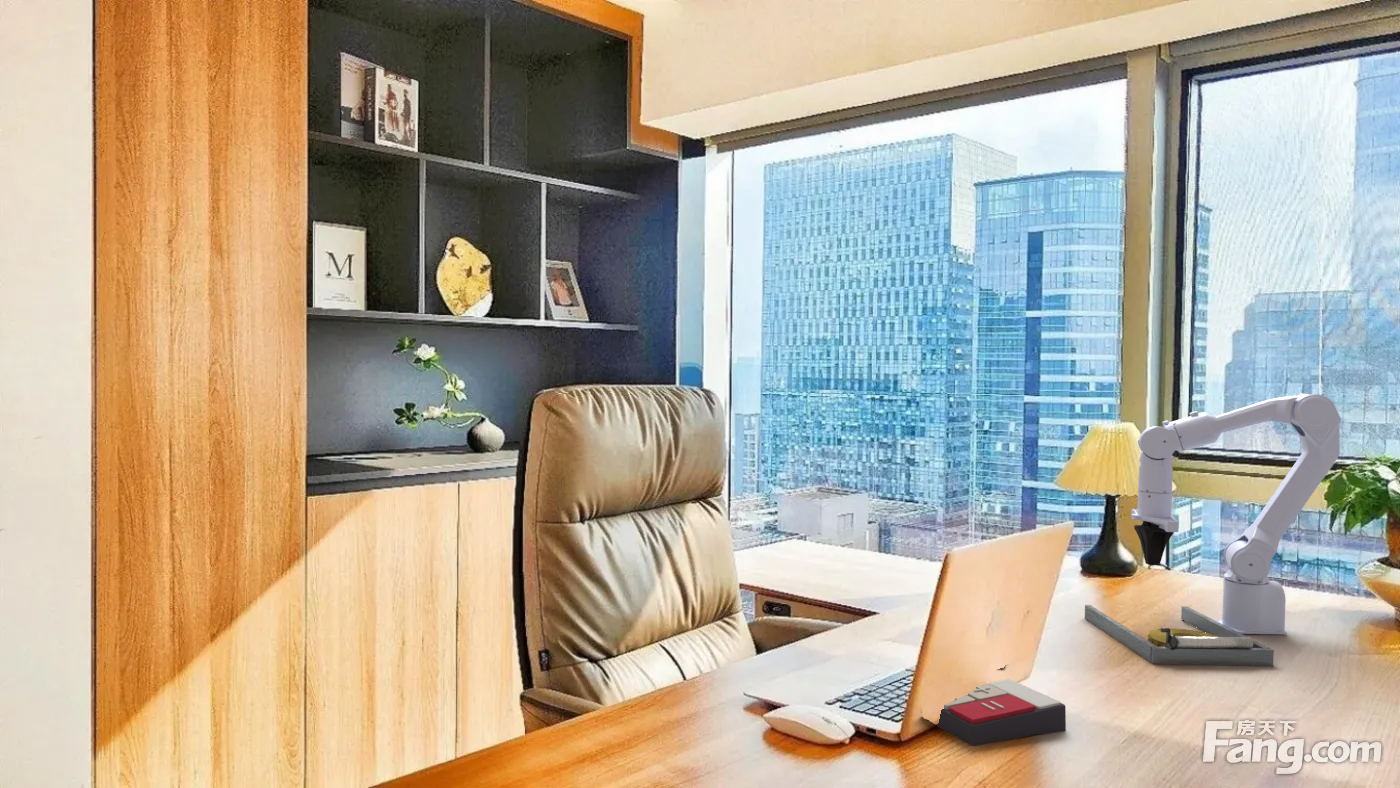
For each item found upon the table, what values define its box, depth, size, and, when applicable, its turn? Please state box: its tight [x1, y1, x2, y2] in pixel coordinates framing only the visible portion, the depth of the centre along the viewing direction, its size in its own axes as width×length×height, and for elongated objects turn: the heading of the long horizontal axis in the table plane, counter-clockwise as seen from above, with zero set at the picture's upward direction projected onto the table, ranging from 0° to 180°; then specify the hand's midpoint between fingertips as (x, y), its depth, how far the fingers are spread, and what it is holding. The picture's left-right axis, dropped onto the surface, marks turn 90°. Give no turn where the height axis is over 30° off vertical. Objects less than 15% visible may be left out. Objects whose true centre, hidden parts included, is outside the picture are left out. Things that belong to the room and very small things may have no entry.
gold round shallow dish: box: [1147, 628, 1219, 647], centre depth 165 cm, size 12×12×2 cm
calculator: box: [936, 678, 1067, 747], centre depth 130 cm, size 11×4×15 cm
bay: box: [1084, 604, 1275, 667], centre depth 170 cm, size 19×29×6 cm, turn 0°
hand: (1152, 564), depth 184 cm, fingers closed
